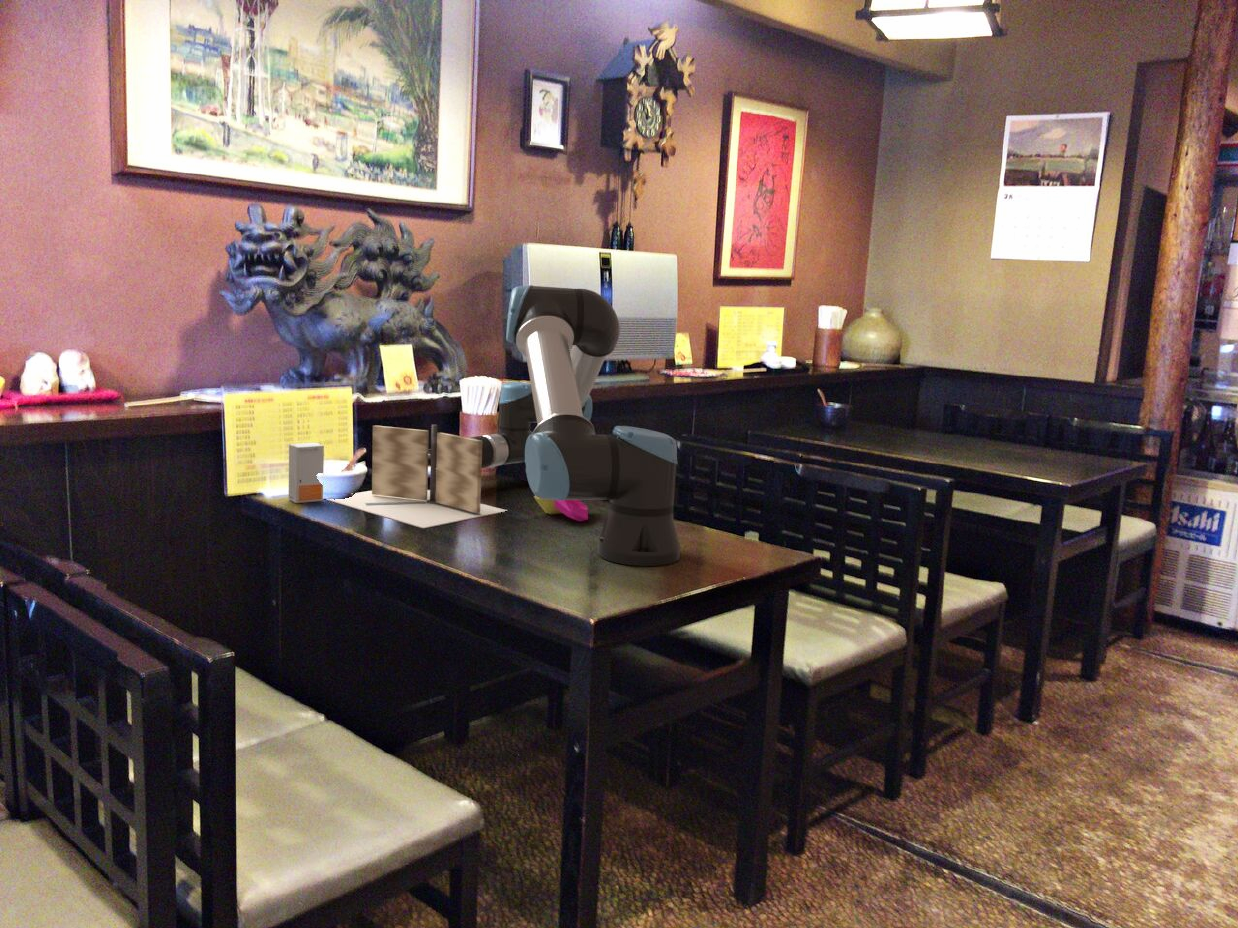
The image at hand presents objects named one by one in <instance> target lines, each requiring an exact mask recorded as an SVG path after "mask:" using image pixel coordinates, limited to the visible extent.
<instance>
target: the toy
mask: <svg viewBox="0 0 1238 928" xmlns="http://www.w3.org/2000/svg"><path fill="white" fill-rule="evenodd" d="M533 498H534V499H535V501H536V502H537V504H538V505H539V506H540V507H541V509H542V510H543V511H544V513H545V514H547V513H548V515H556V514H563V515H565V516H566V517H568V518H570V519H572V520H574V521H577V522H581V523H582V522H584V521H587V520H589V516H588V515H589V513H588V512H589V511H588V510H589V509H588V505H586V504H585V503H584V502H582V500H562V501H556V500H553V499H541V498H539V497H537V496H536V495H535V494H534V496H533Z"/></svg>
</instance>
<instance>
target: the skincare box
mask: <svg viewBox="0 0 1238 928" xmlns="http://www.w3.org/2000/svg"><path fill="white" fill-rule="evenodd" d="M324 453H325V446H324V445H322V444H320V443H318V442H304V443H303V442H302V443H291V444H289V445H288V500H289V501H291V502H293V503H294V504H301V503H303V504H304V503H314V502H323V501H324V499H323V498H324V484H323V485H322V484H321V483H320V482H319V480H318V479H317V476H316V475H317V474H318V473H323V474H324V463H325V462H324V460H325V459H324V456H325V454H324Z"/></svg>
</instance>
